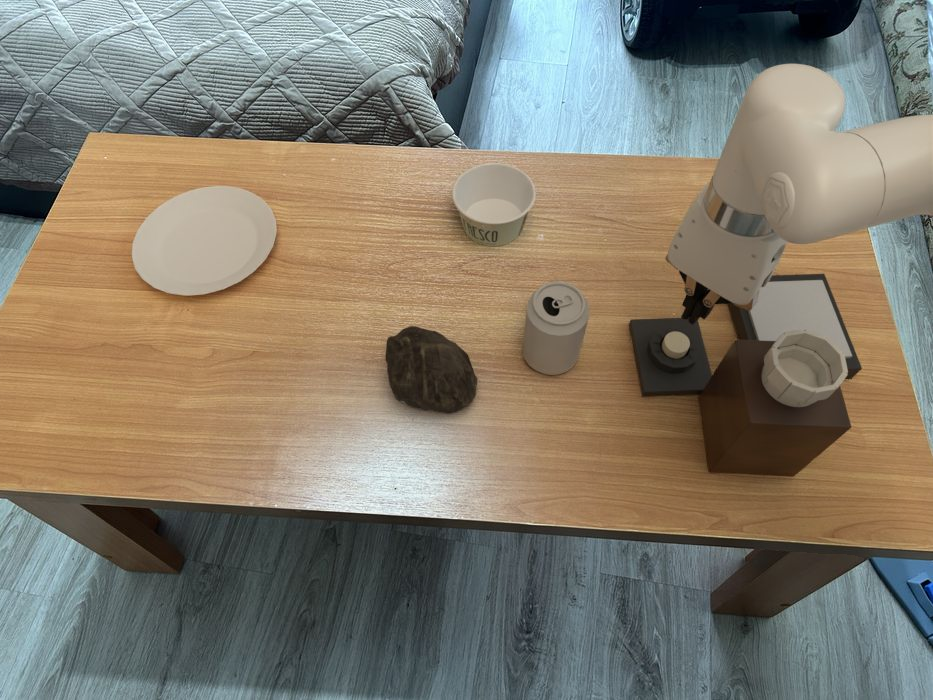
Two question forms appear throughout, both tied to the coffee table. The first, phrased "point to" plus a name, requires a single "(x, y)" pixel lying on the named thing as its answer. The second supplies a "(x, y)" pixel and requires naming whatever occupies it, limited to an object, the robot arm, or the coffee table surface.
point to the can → (554, 327)
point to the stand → (762, 419)
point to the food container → (493, 202)
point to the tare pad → (668, 358)
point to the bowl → (803, 368)
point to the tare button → (675, 345)
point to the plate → (204, 240)
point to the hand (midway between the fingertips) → (693, 313)
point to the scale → (796, 314)
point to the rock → (429, 371)
